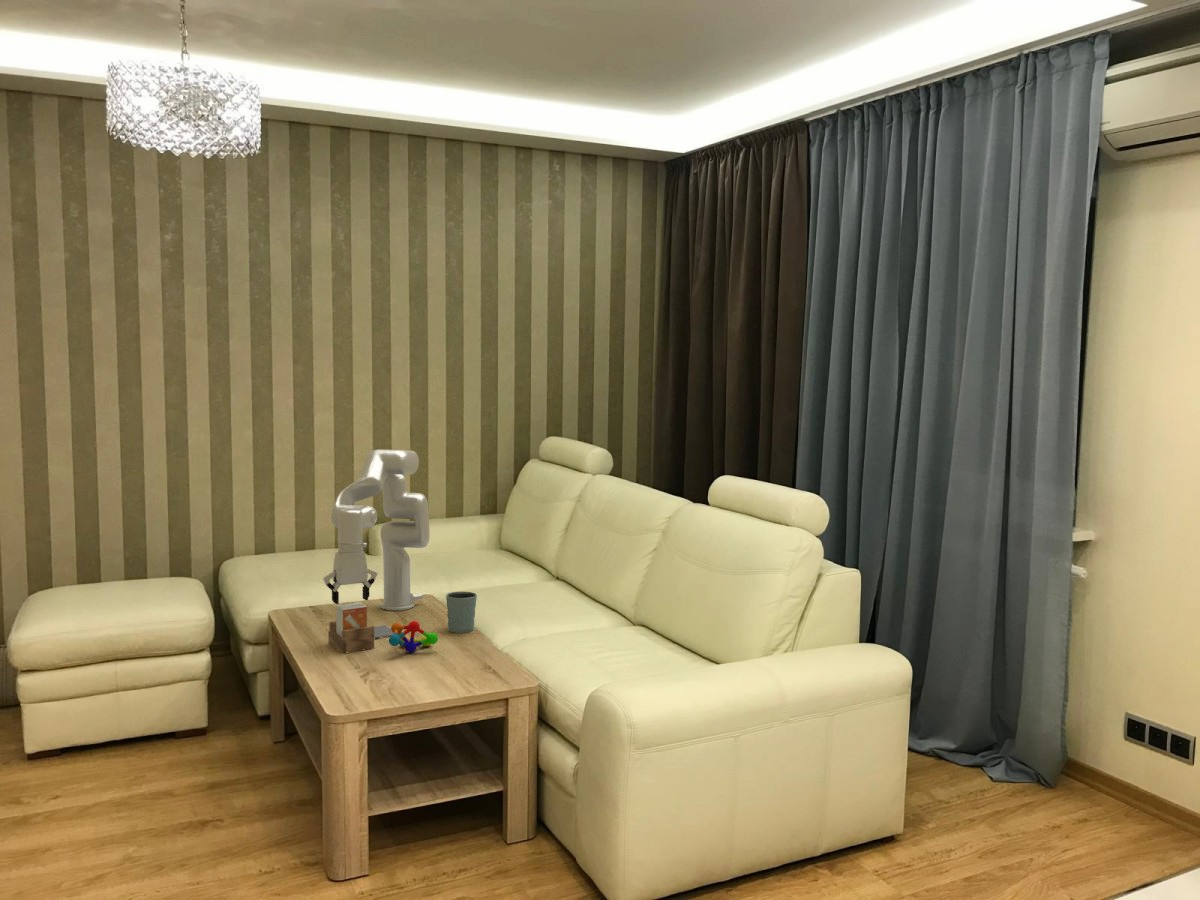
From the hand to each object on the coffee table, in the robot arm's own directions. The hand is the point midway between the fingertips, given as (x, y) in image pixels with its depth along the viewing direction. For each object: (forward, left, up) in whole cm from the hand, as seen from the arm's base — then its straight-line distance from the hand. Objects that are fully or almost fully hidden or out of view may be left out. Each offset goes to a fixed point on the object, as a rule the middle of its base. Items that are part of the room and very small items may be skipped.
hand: (350, 601), depth 324 cm
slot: (0, 0, -15) cm, 15 cm away
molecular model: (-15, +15, -15) cm, 26 cm away
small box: (0, 0, -15) cm, 15 cm away
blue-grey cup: (-38, +1, -15) cm, 41 cm away
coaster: (-11, -9, -15) cm, 21 cm away
